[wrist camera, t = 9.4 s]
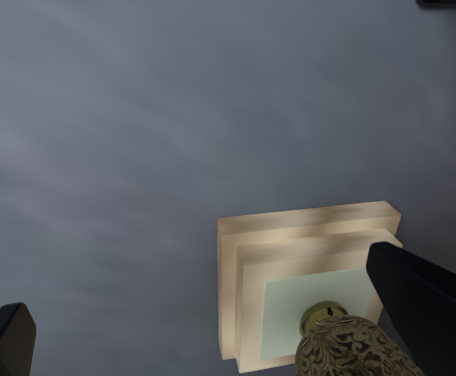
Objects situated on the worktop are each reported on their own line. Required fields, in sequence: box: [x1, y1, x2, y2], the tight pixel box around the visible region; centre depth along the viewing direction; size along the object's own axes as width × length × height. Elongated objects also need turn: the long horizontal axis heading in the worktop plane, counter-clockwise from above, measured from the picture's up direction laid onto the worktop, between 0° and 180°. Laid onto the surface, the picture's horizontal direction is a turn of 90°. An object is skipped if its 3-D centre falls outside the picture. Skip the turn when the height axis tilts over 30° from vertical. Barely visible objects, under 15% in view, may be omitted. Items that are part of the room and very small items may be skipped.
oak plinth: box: [217, 201, 403, 373], centre depth 26 cm, size 13×13×4 cm
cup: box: [295, 302, 425, 376], centre depth 21 cm, size 8×7×8 cm
